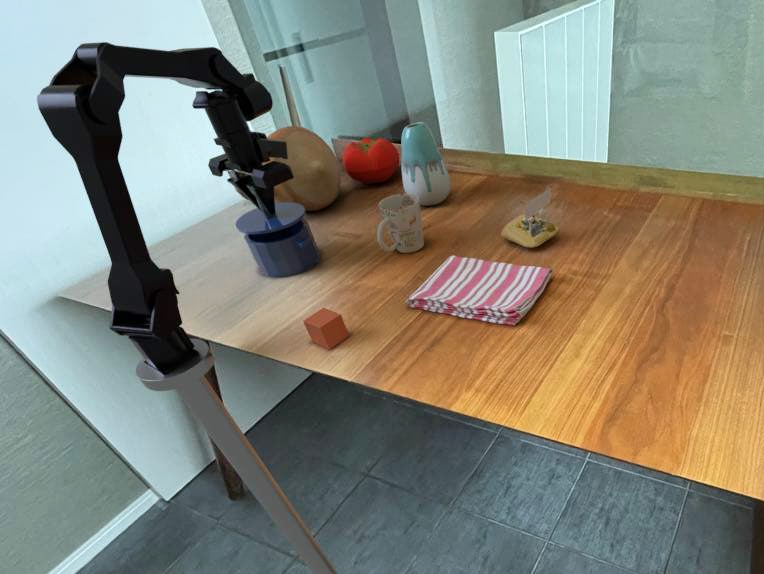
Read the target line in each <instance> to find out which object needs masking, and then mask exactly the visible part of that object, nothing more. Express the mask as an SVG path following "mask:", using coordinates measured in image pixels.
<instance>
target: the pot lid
mask: <svg viewBox="0 0 764 574" xmlns="http://www.w3.org/2000/svg"><path fill="white" fill-rule="evenodd" d="M255 198H256V197H255ZM256 200H257V202H258V205H259V207H260V209H261V211H262V212H261V211H260V210H259V209H258V208H257V207H256V208H254V209H251V210H249V211H247V212H245V213H243V214H242V215H241V216H240V217H238V218H237V220H236V221H235V227H236V229H237V231H238V232H240V233H243V234H244V235H245V234H264V233H270V232H275V231H278V230H282V229H285V228H287V227H289V226H292V225H294V224H295V223H297V222H299V221H300V220H301V219H302V218H305V216H306V213H307V211H305V208H304V207H303V206H302V205H301V204H298V203H292V202H283V203H277V202H275V211H276V212H275V214H273V215H271V214H269V213H268V211H267V210H266V209H265V208H264V207H263V206H262V204H261V203H260V202H259V201H258V199H257V198H256Z"/></svg>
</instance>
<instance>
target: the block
mask: <svg viewBox="0 0 764 574" xmlns="http://www.w3.org/2000/svg"><path fill="white" fill-rule="evenodd" d="M302 322H303V324H304V326H305V329H306V331H307V333H308V335H309V337H310V340H311V341H312V343H314V344H316V345H317V346H320V347H322V348H325V349H327V350H331V349H332V348H334V347H335V346H337V345H339V344H340V343H341V342H342V341H344V340H345V339H347V338H348V337H350V334H349V332H348V329H347V326H346V324H345V321H344V318H343V316H342V314H341V313H339V312H336V311H334V310H331V309H328V308H325V307H322V308H320V309H318V310H317V311H316V312H313V314H310V316H308V317H307V318H305V319H303V320H302Z"/></svg>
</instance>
